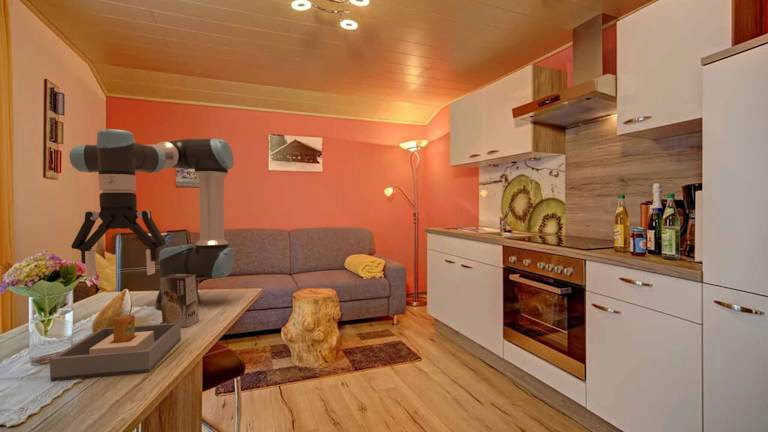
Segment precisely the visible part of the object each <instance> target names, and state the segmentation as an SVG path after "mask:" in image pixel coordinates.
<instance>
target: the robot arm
mask: <svg viewBox="0 0 768 432" xmlns="http://www.w3.org/2000/svg"><path fill="white" fill-rule="evenodd" d="M96 135H97V136H96V144H82V145H75V146H74V147H72V148H71V150H70V151H69V157H68V158H69V160H70V161H69V163H70V164H71V166H72V168H74V169H75V170H77V171H78V172H82V173H83V172H84V173H98V190H99V191H101V192H100V193H99V195H98V198H99V207H100V209H99V211H98V212H97V211H94V210H93V211H85V214H84V221H83V223H82V225H81V227H80V229H79V230H78V232H77V234H76V236H75V238H74V239H73V242H72V244H71V246H70V247H71V249H73V250H78V251H80V252H81V253H80V254H81V263H82V264H84V265H85V278H86V279H87V278H92V277H95V276H97V265H96V261H97V260H96V249H93V247H94V246H95V245H96V244H97V243H98V242H99V240H101V238H102V237H103V236H104V235H105V234H106V233H107V231H109V230H117V229H121V230H125V229H128V230H130V231H131V232H133V233H134V234H135V235H136V236H137V237H138V238H139V239H140V240H141V241H142V242H143V244H145V245H146V246H147V247H148V248H147V249H145V255H146V257H145V258H146V275H147V276H150V275H153V274H155V273H156V267H155V265H156V263H155V262H157V261H158V262H159V285H160V287H159V290H158V293H157V296H156V298H155V309H156V310H159V311H162V302H161V279H160V278H162V277H165V276H168V275H171V274H197V279H218V278H219V279H221V278H226V277H228V276H229V275H230V273H231V272H232V270H233V267H234V265H235V258H236V257H235V256H236V254H235V251H234V248H232V247H229V241H227V240H226V238H225V194H224V193H225V192H224V191H225V189H224V188H225V187H224V185H225V181H224V180H225V177H227V176H228V175H229V170H231V169H232V168H233V167H234V161H235V160H234V153H233V150H232V148H231V146H230V144H229V143H228V141H226V140H225V139H223V138H221V139H220V138H183V139H176V140H175V139H174V140H169V141H160V142H157V143H155V144H142V143H138V142H136V140H135V135H134V134H133V133H132V132H131V131H128V130H124V129H118V128H117V129H113V128H104V129H102V128H101V129H99V130H98V131H97V134H96ZM164 168H165V169H170V168H171V169H172V168H173V169H182V170H185V169H186V170H194V174H195V175H196V176H197V177H198V185H199V188H198V190H199V191H198V192H199V195H198V196H199V240H197V242H195V246H194V244H191V243H190V244H184V245H183V244H182V245H176V246H171V247H165V248H162V249H161V250H160V251H159V248H160V247H163V246H166V243H167V241H166V240H165V238H164V237H163V235H162V233H161V231H160V230H159V228H158V227H157V225H156V223H155V221H154V220H153V217H152V212H151V211H150V210H142V211H138V210H137V207H138V204H137V194H136V192H135V191H137V180H136V179H137V178H136V173H147V174H152V173H153V174H154V173H155V174H156V173H159V172H162V170H163V169H164ZM138 218H139V219H140V220H141V221H142V222H143V223H144V225H145V227H146V229H147V231H148V232H149V234H148V232H147V231H146V230H144V228H142V227H141V225H140V224H139V223H138V222H137V219H138ZM98 219H100V220H101V223H100V224H99V225H98V226H97V229H95V231H94V232H93V233H92V234H91V232H92V230H93V227H94V226H95V224H96V222H97V220H98ZM90 234H91V235H90ZM89 235H90V236H89ZM150 235H151V236H150ZM200 303H201V295H200V293H199V292H198V305H199V304H200Z"/></svg>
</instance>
